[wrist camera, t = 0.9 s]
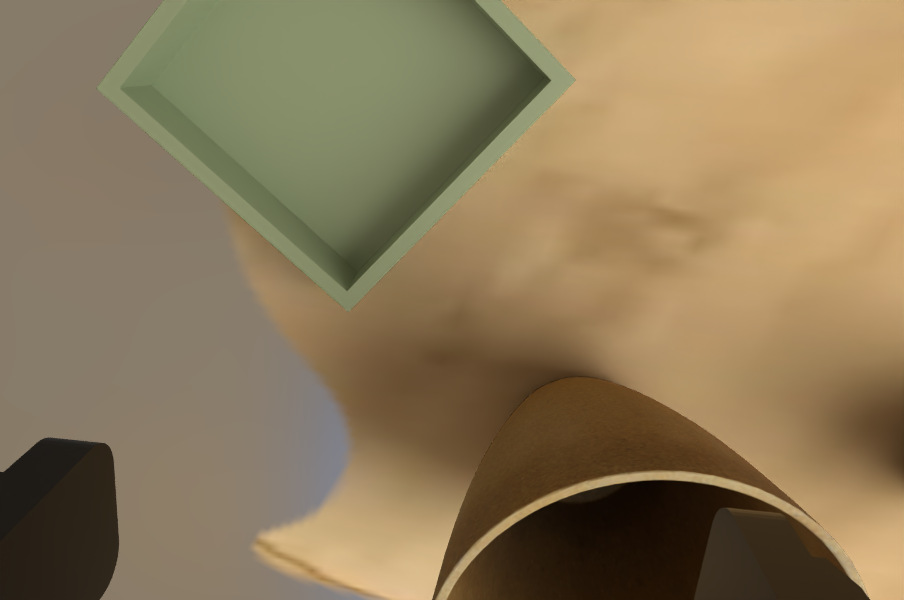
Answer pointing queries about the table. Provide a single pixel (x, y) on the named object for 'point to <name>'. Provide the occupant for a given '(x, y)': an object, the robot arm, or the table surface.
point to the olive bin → (336, 115)
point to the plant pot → (603, 502)
